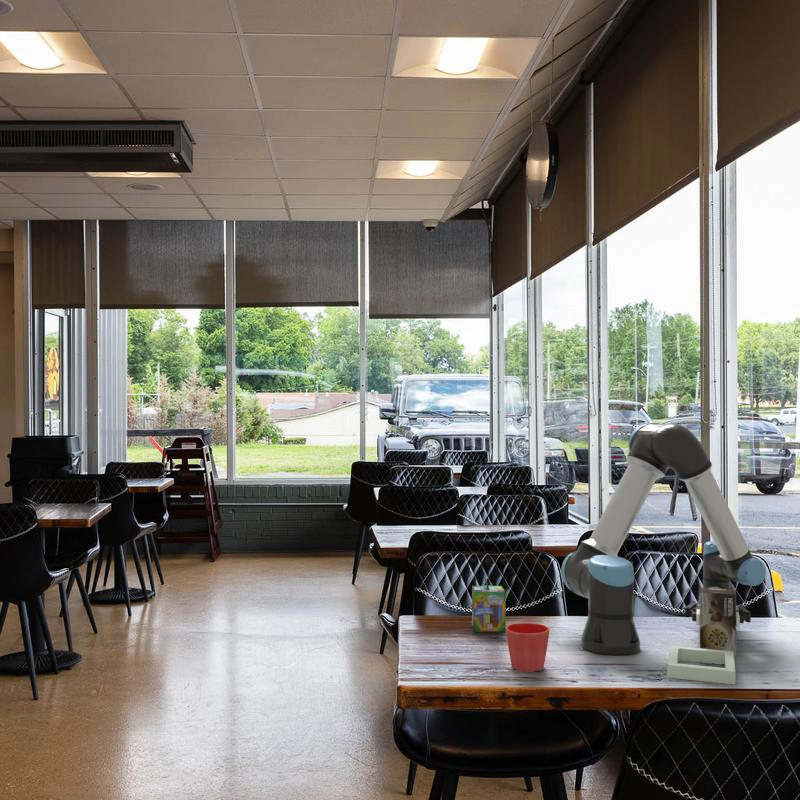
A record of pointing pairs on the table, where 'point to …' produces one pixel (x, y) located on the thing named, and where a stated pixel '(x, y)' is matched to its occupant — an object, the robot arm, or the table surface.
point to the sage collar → (701, 672)
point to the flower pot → (527, 645)
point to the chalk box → (488, 608)
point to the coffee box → (718, 619)
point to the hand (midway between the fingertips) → (717, 621)
